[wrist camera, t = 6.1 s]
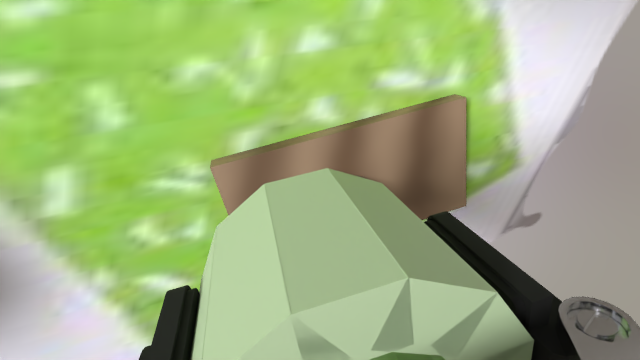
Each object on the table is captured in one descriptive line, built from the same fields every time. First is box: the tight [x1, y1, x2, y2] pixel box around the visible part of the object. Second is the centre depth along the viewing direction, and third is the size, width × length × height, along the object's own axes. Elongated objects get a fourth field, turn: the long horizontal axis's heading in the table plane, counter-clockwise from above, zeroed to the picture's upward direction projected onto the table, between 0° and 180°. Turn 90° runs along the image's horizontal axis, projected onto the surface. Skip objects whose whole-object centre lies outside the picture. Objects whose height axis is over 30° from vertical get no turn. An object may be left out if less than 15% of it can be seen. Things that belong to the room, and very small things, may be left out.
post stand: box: [210, 94, 466, 220], centre depth 25 cm, size 20×10×6 cm, turn 102°
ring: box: [190, 168, 534, 360], centre depth 9 cm, size 7×7×5 cm
